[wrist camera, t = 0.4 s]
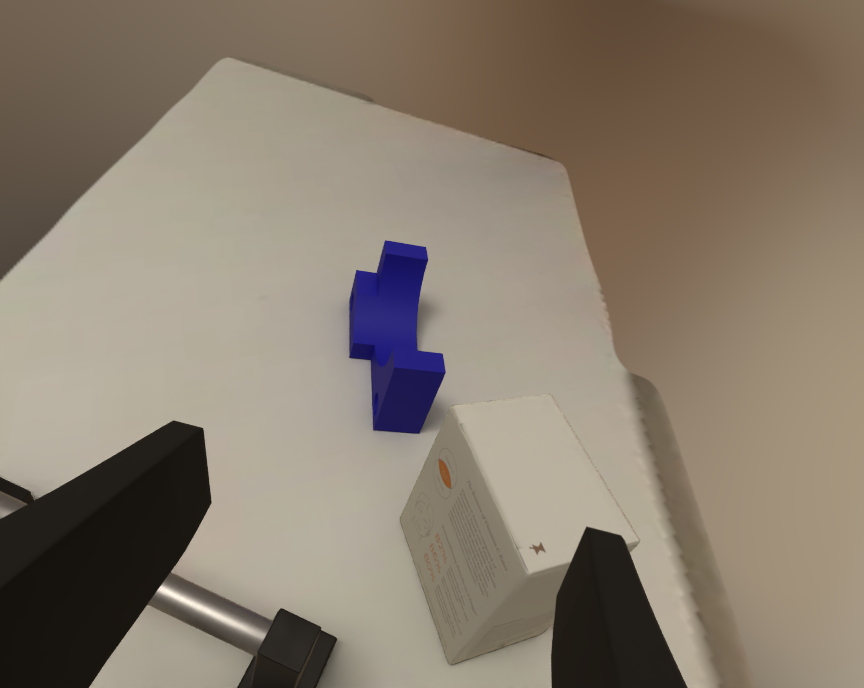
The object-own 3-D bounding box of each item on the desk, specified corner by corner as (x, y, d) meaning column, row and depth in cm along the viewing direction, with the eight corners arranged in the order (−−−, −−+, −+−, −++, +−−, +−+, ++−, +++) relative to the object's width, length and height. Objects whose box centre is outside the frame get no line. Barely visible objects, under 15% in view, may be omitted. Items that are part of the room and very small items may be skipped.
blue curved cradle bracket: (349, 300, 44) (364, 236, 40) (406, 308, 45) (426, 247, 41) (349, 428, 35) (367, 364, 31) (419, 433, 37) (445, 372, 32)
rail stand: (268, 797, 22) (285, 759, 17) (-151, 589, 23) (-253, 495, 18) (334, 644, 27) (364, 578, 21) (-19, 476, 28) (-72, 374, 22)
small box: (541, 636, 30) (647, 546, 22) (445, 669, 27) (530, 579, 20) (482, 499, 34) (554, 389, 27) (396, 517, 32) (450, 401, 25)
